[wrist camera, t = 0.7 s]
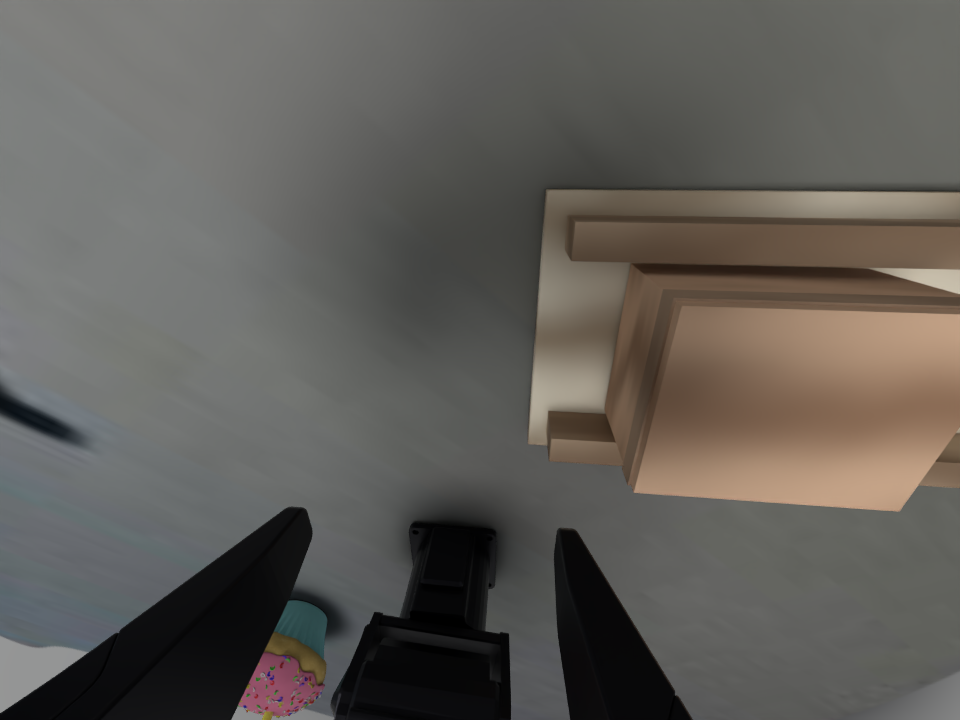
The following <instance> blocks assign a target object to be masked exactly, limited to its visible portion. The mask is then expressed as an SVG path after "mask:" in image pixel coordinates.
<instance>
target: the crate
mask: <svg viewBox="0 0 960 720" xmlns="http://www.w3.org/2000/svg"><path fill="white" fill-rule="evenodd" d="M604 410H605V413H606V416H607V419H608V421H609V424H610V427H611V430H612V433H613V436H614V438H615V441H616V444H617V447H618V450H619V452H620V455H621V458H622V461H623V466H622V470H623V473H624V476H625V479H626V482H627V485H631V486H632V489H633V492H634V493H645V494H660V495H674V496H688V497H702V498H716V499H730V500H744V501H758V502H772V503H787V504H801V505H815V506H829V507H843V508H857V509H871V510H885V511H900V510H901V508H902V507H903V506H904V504H905V503H906V501H907V500H908V499H909V497H910V496H911V494H912V493H913V492H914V490H915V489H916V487H917V486H918V485H919V483H920V482H921V481H922V479H923V478H924V476H925V475H926V474H927V472H928V471H929V469H930V468H931V467H932V465H933V464H934V463H935V461H936V460H937V458H938V457H939V456H940V454H941V453H942V451H943V450H944V449H945V447H946V446H947V445H948V443H949V442H950V440H951V439H952V438H953V436H954V435H955V433H956V432H957V431H958V429H959V428H960V294H957V293H953V292H950V291H946V290H943V289H939V288H936V287H932V286H929V285H925V284H921V283H918V282H914V281H911V280H907V279H904V278H900V277H897V276H893V275H890V274H886V273H883V272H879V271H875V270H872V269H867V268H821V267H775V266H729V265H683V264H637V263H631V266H630V272H629V277H628V283H627V288H626V293H625V299H624V304H623V310H622V315H621V321H620V326H619V332H618V337H617V343H616V348H615V353H614V359H613V364H612V370H611V375H610V381H609V386H608V392H607V397H606V403H605V408H604Z"/></svg>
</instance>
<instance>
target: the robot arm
mask: <svg viewBox="0 0 960 720" xmlns="http://www.w3.org/2000/svg"><path fill="white" fill-rule="evenodd" d="M409 536H410V544H411V552H412V560H413V569H412V573H411V577H410V581H409V584H408V588H407V592H406V596H405V599H404V603H403V607H402V611H401V614H400V617H394V616H388V615H383V613H380V612H374V614H373V617H372V619H371V621H370V624H367V626H365V628H364V631H363V634H362V637H361V640H360V642H359V645H358V647H357V649H356V652H355V654H354V656H353V659H352V661H351V663H350V666H349V667H348V669H347V671H346V673H345V675H344V676H343V678H342V680H341V682H340V683H339V685H338V687H337V689H336V691H335V692H334V694H333V697H332V700H331V705H330V707H331V710H332V712H333V715H334V720H511V688H510V654H509V633H503V632H500V634H499V633H492V632H486V631H485V627H486V613H487V600H488V589H492V588H494V586H495V566H496V532H495V531H494V530H491V529H482V528H470V527H457V526H445V525H433V524H420V523H414V524H412V525H411V526H410V529H409ZM311 539H312V527H311V523H310V520H309V516H308V513H307V510H306V509H305V508H303V507H288V508H286V509H284V510H283V511H281V512H280V513H279V514H277V515H276V516H275V517H273V518H272V519H271V520H269V521H268V522H266V523H265V524H264V525H262V526H261V527H260V528H258V529H257V530H256V531H254V532H253V533H251V534H250V535H249V536H247V537H246V538H245V539H243V540H242V541H241V542H239V543H238V544H236V545H235V546H234V547H232V548H231V549H230V550H228V551H227V552H225V553H224V554H223V555H221V556H220V557H219V558H217V559H216V560H215V561H213V562H212V563H210V564H209V565H208V566H206V567H205V568H204V569H202V570H201V571H200V572H198V573H197V574H195V575H194V576H193V577H191V578H190V579H189V580H187V581H186V582H185V583H183V584H182V585H180V586H179V587H178V588H176V589H175V590H174V591H172V592H171V593H170V594H168V595H167V596H165V597H164V598H163V599H161V600H160V601H159V602H157V603H156V604H155V605H153V606H152V607H150V608H149V609H148V610H146V611H145V612H144V613H142V614H141V615H140V616H138V617H137V618H135V619H134V620H133V621H131V622H130V623H129V624H127V625H126V626H125V627H123V628H122V629H121V630H120V631H119V633H115V634H113V635H112V636H111V637H109V638H108V639H107V640H105V641H104V642H102V643H101V644H100V645H98V646H97V647H96V648H94V649H93V650H92V651H90V652H89V653H87V654H86V655H84V656H83V657H82V658H80V659H79V660H78V661H76V662H75V663H73V664H72V665H70V666H69V667H68V668H66V669H65V670H63V671H62V672H61V673H59V674H58V675H56V676H55V677H53V678H52V679H51V680H49V681H48V682H46V683H45V684H43V685H42V686H40V687H39V688H37V689H36V690H34V691H33V692H31V693H30V694H29V695H27V696H26V697H24V698H23V699H21V700H19V701H18V702H17V703H15V704H14V705H12V706H11V707H9V708H8V709H6V710H5V711H3V712H2V713H0V720H231V719H232V717H233V715H234V713H235V711H236V709H237V706H238V704H239V702H240V700H241V698H242V696H243V694H244V692H245V690H246V688H247V686H248V684H249V682H250V680H251V678H252V676H253V674H254V671H255V669H256V667H257V665H258V663H259V661H260V659H261V657H262V655H263V653H264V651H265V649H266V647H267V645H268V643H269V641H270V638H271V636H272V634H273V632H274V630H275V628H276V626H277V624H278V622H279V620H280V618H281V616H282V614H283V611H284V609H285V607H286V605H287V603H288V600H289V598H290V595H291V593H292V590H293V587H294V585H295V582H296V579H297V577H298V574H299V571H300V569H301V566H302V563H303V561H304V558H305V555H306V553H307V550H308V547H309V545H310V542H311ZM554 569H555V591H556V614H557V630H558V639H559V647H560V653H561V660H562V667H563V673H564V680H565V687H566V694H567V700H568V707H569V714H570V720H693V719H692V717H691V716H690V714H689V713H688V711H687V709H686V708H685V706H684V704H683V703H682V701H681V699H680V698H679V697H678V696H677V695H676V696H675V690H674V688H673V687H672V685H671V683H670V682H669V680H668V679H667V677H666V675H665V674H664V672H663V670H662V669H661V667H660V666H659V664H658V662H657V661H656V659H655V657H654V656H653V654H652V653H651V651H650V649H649V648H648V646H647V644H646V643H645V641H644V640H643V638H642V636H641V635H640V633H639V631H638V630H637V628H636V627H635V625H634V623H633V622H632V620H631V618H630V617H629V615H628V614H627V612H626V610H625V609H624V607H623V605H622V604H621V602H620V600H619V599H618V597H617V596H616V594H615V592H614V591H613V589H612V587H611V586H610V584H609V583H608V581H607V579H606V578H605V576H604V574H603V573H602V571H601V570H600V568H599V566H598V565H597V563H596V561H595V560H594V558H593V557H592V555H591V553H590V552H589V550H588V548H587V547H586V545H585V544H584V542H583V540H582V539H581V537H580V535H579V534H578V532H577V531H576V530H575V529H571V528H559V529H558V530H557V535H556V543H555V550H554Z"/></svg>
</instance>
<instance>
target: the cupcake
mask: <svg viewBox="0 0 960 720" xmlns="http://www.w3.org/2000/svg"><path fill="white" fill-rule="evenodd" d="M326 627H327V617H326V615H325V614H324V612H323V611H322V610H320V609H319V608H318V607H316V606H314V605H312V604H310V603H307V602H304V601H298V600H290V601H288V603H287V605H286V607H285V609H284V611H283V614H282V616H281V618H280V620H279V622H278V624H277V626H276V628H275V630H274V632H273V634H272V636H271V638H270V641H269V643H268V645H267V647H266V649H265V651H264V653H263V655H262V657H261V659H260V661H259V663H258V665H257V667H256V669H255V671H254V674H253V676H252V678H251V680H250V682H249V684H248V686H247V688H246V690H245V692H244V694H243V696H242V698H241V700H240V702H239V704H238V706H239V707H243V708H244V709H245V710H246V711H247V712H248V711H251V712H254V713H257V714H261V715H264V716H263V718H262V720H271V718H272V716H276V717H278V718H279V717H280V716H283V717H285V716H287V715H288V716H290V714H292V713H296V712H298V711H299V709H300V710H301V708H303V709H302V710H301V711H303V710H304V707H306V706H307V705H311V704H312V703H313V702H314V701H315V700H316V699H317V698H318V695H319V698H320V696H321V692H322V690H323V689H324V686H325V685H324V684H323V681H324V678H325V675H326V662H325V660H324V640H325V633H326ZM309 703H310V704H309Z"/></svg>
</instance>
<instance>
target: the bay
mask: <svg viewBox="0 0 960 720" xmlns="http://www.w3.org/2000/svg"><path fill="white" fill-rule="evenodd" d="M631 263H637V264H683V265H729V266H775V267H821V268H867V269H872V270H875V271H879V272H883V273H886V274H890V275H893V276H897V277H900V278H904V279H907V280H911V281H914V282H918V283H921V284H925V285H929V286H932V287H936V288H939V289H943V290H946V291H950V292H953V293H957V294H960V192H939V191H772V190H605V189H546V194H545V207H544V221H543V234H542V248H541V261H540V275H539V288H538V302H537V315H536V328H535V342H534V355H533V369H532V382H531V396H530V409H529V423H528V444H533V445H547V446H548V456H549V461H554V462H569V463H584V464H600V465H615V466H623V461H622V458H621V455H620V452H619V450H618V447H617V444H616V441H615V438H614V436H613V433H612V430H611V427H610V424H609V421H608V419H607V416H606V413H605V410H604V408H605V403H606V397H607V392H608V386H609V381H610V375H611V370H612V364H613V359H614V353H615V348H616V343H617V337H618V332H619V326H620V321H621V315H622V310H623V304H624V299H625V293H626V288H627V283H628V277H629V272H630V266H631ZM919 485H921V486H936V487H952V488H960V428H959V429H958V431H957V432H956V433H955V435H954V436H953V438H952V439H951V440H950V442H949V443H948V445H947V446H946V447H945V449H944V450H943V451H942V453H941V454H940V456H939V457H938V458H937V460H936V461H935V463H934V464H933V465H932V467H931V468H930V469H929V471H928V472H927V474H926V475H925V476H924V478H923V479H922V481H921V482H920V483H919Z"/></svg>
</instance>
